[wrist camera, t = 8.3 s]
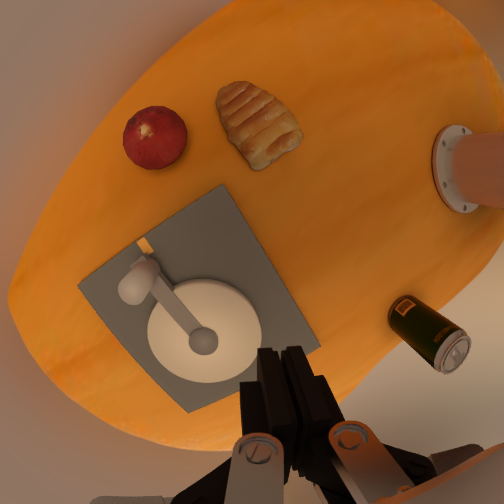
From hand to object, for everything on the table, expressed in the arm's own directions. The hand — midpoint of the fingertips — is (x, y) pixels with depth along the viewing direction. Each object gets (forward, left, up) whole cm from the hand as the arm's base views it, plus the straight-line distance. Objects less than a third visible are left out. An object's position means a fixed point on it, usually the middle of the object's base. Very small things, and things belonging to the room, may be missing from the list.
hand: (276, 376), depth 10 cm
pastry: (-8, -10, -21) cm, 24 cm away
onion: (+1, -14, -20) cm, 25 cm away
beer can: (-14, +19, -20) cm, 31 cm away
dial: (+8, +3, -19) cm, 21 cm away
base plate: (+8, +4, -20) cm, 22 cm away
